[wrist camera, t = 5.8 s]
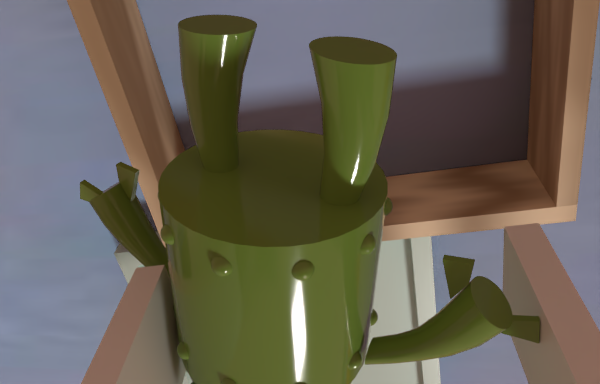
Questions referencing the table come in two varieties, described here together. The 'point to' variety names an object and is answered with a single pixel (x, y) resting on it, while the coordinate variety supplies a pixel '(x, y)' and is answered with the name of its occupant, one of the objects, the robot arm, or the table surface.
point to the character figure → (287, 226)
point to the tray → (381, 305)
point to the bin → (402, 188)
